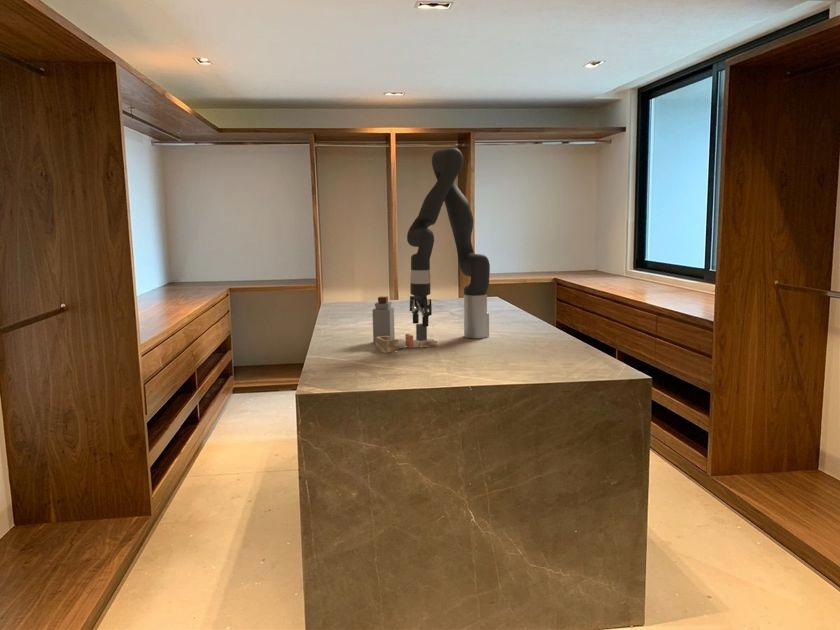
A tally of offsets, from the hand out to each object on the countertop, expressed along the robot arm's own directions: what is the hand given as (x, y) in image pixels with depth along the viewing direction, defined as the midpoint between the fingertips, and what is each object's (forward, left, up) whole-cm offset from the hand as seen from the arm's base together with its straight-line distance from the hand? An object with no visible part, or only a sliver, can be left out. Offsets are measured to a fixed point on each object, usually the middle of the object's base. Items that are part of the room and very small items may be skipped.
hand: (420, 324), depth 243 cm
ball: (+8, 0, -6) cm, 10 cm away
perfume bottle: (+10, -13, -8) cm, 18 cm away
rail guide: (-2, 0, -8) cm, 8 cm away
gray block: (0, 0, -8) cm, 8 cm away
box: (+14, 0, -8) cm, 16 cm away
